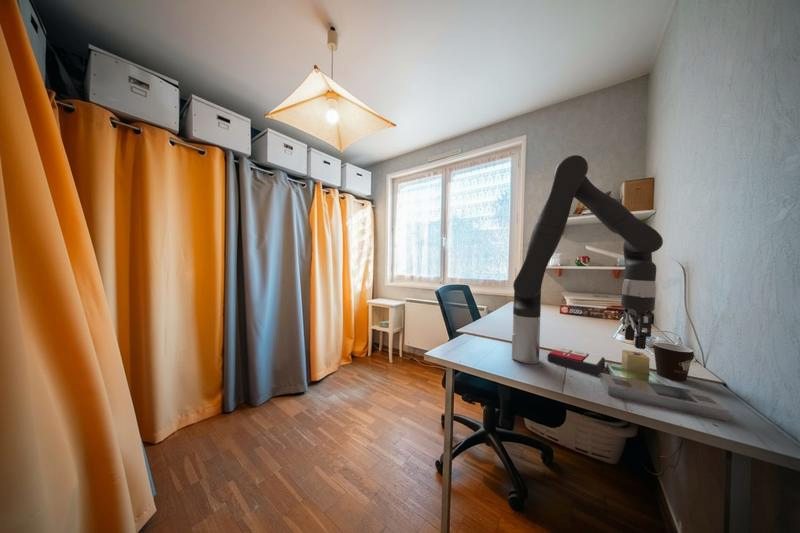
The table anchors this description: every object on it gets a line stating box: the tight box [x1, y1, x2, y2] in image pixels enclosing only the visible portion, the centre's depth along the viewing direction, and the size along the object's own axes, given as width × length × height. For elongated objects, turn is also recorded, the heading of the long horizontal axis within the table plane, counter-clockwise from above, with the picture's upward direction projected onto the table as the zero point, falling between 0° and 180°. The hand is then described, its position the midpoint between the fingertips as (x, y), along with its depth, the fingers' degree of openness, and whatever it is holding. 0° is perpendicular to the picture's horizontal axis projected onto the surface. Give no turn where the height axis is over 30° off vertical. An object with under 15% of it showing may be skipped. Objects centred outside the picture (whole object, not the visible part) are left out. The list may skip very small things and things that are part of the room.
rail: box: [599, 372, 730, 422], centre depth 65 cm, size 22×9×3 cm, turn 61°
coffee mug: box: [652, 341, 695, 383], centre depth 77 cm, size 12×9×10 cm
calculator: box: [547, 346, 606, 377], centre depth 86 cm, size 11×4×15 cm
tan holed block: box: [621, 349, 651, 382], centre depth 75 cm, size 5×5×8 cm
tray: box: [606, 364, 666, 385], centre depth 75 cm, size 11×11×2 cm
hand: (634, 344), depth 75 cm, fingers open, 8 cm apart
